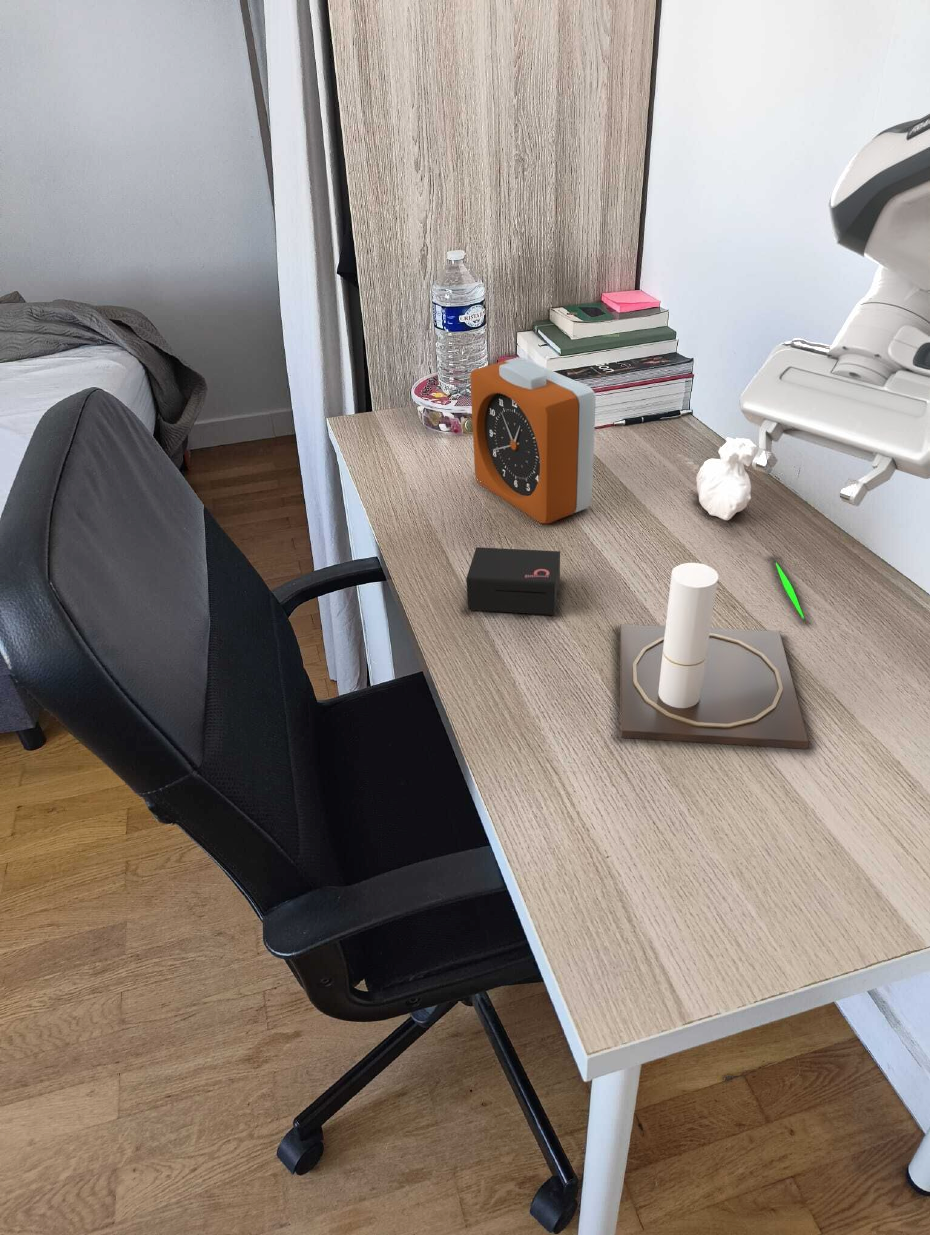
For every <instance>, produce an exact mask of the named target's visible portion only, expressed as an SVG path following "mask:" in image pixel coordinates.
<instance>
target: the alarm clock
mask: <svg viewBox="0 0 930 1235" xmlns="http://www.w3.org/2000/svg"><path fill="white" fill-rule="evenodd" d="M469 376H470V377H469V379H470V380H469V381H470V382H469V383H470V401H471V420H472V421H471V422H472V440H473V459H474V460H473V461H474V462H473V463H474V475H475V479H476V481H477V483H478V484H479V485H480V486H482V487H483V488H485V489H486V490H488V491H490V492H491V493H493V494H494V495H496V496H498V497H499V498H501V499H502V500H504V501H505V502H507V503H508V504H510V505H512V506H513V507H514V508H516V509H517V510H520V512H522V513H524V514H526V515H527V516H529V517H530V518H532V519H533V520H534V521H537V522H538V523H539V524H551V523H554V522H556V521H558V520H561V519H563V518H566V517H569V516H571V515H573V514H576V513H578V512H582V511H583V510H586V509H588V508H589V507H590V505H591V503H592V500H593V478H594V476H593V475H594V455H595V454H594V452H595V429H596V427H595V426H596V405H597V403H596V402H597V399H596V393H595V391H594V390H593V389H592V388H591V386H589V385H586V384H585V383H581V382H579V381H577V380H575V379H572V378H570V377H568V376H565V375H563V374H560V373H558V372H556V371H554V370H551V369H549V368H546V367H544V366H542V365H540V364H537V363H535V362H533V361H530V360H528V359H525V358H524V357H520V356H517V357H514V358H511V359H507V360H503V361H500V362H497V363H493V364H489V365H486V366H483V367H482V366H481V367H478V368H475V369H473V370H472V371H471V373H470V375H469ZM477 479H478V480H477ZM480 481H481V482H480Z"/></svg>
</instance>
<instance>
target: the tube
mask: <svg viewBox="0 0 930 1235" xmlns="http://www.w3.org/2000/svg"><path fill="white" fill-rule="evenodd" d="M670 575H671V576H670V582H669V584H670V585H669V594H668V600H667V601H668V602H667V610H666V611H667V612H666V622H665V626H666V628H665V637H664V646H663V655H662V664H661V673H660V682H659V691H658V694H659V697H660V699H661V700H662V701H663V702H664V703H666V704H667V705H670V706H672V707H676V708H688V707H692V706H694V705H696V704H697V703H698V702H699V700H700V695H701V688H702V682H703V675H704V669H705V662H706V655H707V649H708V642H709V635H710V629H711V628H712V621H713V615H714V609H715V603H716V602H715V601H716V595H717V588H718V580H719V574H718V572H717V571H716V570H715V569H714V568H713V567H711V566H709V565H707V564H704V563H700V562H685V563H681V564H678V565H677V566H675V567H674V568H673V569H672V570H671V574H670Z"/></svg>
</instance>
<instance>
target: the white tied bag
mask: <svg viewBox="0 0 930 1235" xmlns="http://www.w3.org/2000/svg"><path fill="white" fill-rule="evenodd" d="M758 451H759V448H758V446H757V445H756V444H755V443H754V442H753V441H752V439H749V438H738V437H736V438H735V439H734V438H731V437H730V436H729V437H726V441H725V443H724V444H723V445H722V446H720V447H719V449H718V454H719V456H720V458H709V459H707V460H705V461H704V463H703V464H702V465H701V467H700V469H699V471H698V473H697V474H696V478H695V479H696V480H695V481H696V491H697V493H698V502H699V504H700V505H701V507H702V508H703V510H705V511H707V512H708V514H709V515H710V516H714V517H717V518H719V519H721V520H723V521H729V520H731V519H732V518H733V517H734V516H735V514H736V513H739V512H741V511H743V510H744V509H745V508H746V507H747V506H748V503H749V501H750V500H751V499H752V497H751V492H752V484H751V480H750V476H749V474H748V473H747V471H746V469H745V466H746V467H750V465H752V461H753V459H754V457H755V456H756V454H757V452H758Z"/></svg>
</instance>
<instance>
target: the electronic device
mask: <svg viewBox="0 0 930 1235" xmlns="http://www.w3.org/2000/svg"><path fill="white" fill-rule="evenodd" d="M560 582H561V551H559V550H557V551H556V550H541V549H540V550H539V549H521V548H520V549H519V548H502V547H501V548H500V547H499V548H498V547H481V546H480V547H479V546H476V547H475V550H474V552H473V556H472V559H471V562H470V566H469V569H468V572H467V575H466V594H467V595H466V597H467V598H466V599H467V610H469V611H483V612H499V613H500V612H501V613H514V614H515V613H516V614H532V615H549V616H554V615H555V614H556V609H557V601H558V600H557V599H558V598H557V597H558V595H559V589H560Z"/></svg>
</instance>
